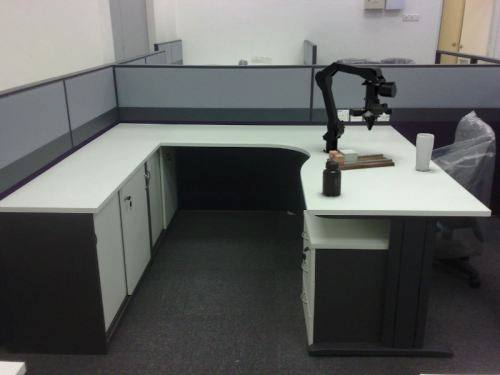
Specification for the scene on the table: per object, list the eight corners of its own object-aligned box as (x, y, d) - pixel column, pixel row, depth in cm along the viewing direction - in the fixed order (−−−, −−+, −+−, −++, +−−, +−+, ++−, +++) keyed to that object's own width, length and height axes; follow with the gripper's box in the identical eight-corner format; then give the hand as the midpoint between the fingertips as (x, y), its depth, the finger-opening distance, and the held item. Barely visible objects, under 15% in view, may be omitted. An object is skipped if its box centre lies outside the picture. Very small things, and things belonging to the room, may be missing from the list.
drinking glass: (419, 172, 195) (423, 137, 190) (410, 168, 201) (413, 134, 196) (433, 171, 197) (437, 136, 192) (424, 166, 203) (427, 132, 198)
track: (326, 161, 213) (327, 150, 211) (379, 157, 218) (380, 146, 216) (338, 170, 200) (339, 158, 198) (394, 165, 205) (395, 153, 203)
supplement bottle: (338, 190, 176) (340, 159, 173) (342, 196, 170) (344, 164, 166) (320, 190, 176) (321, 160, 172) (323, 197, 170) (324, 165, 166)
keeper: (338, 160, 209) (339, 150, 208) (351, 159, 210) (351, 149, 209) (344, 163, 204) (344, 153, 202) (357, 162, 205) (357, 152, 203)
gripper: (360, 99, 199) (357, 135, 204) (400, 97, 202) (397, 132, 208) (349, 96, 209) (347, 130, 214) (387, 94, 213) (385, 127, 218)
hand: (369, 130), depth 213 cm, fingers closed
